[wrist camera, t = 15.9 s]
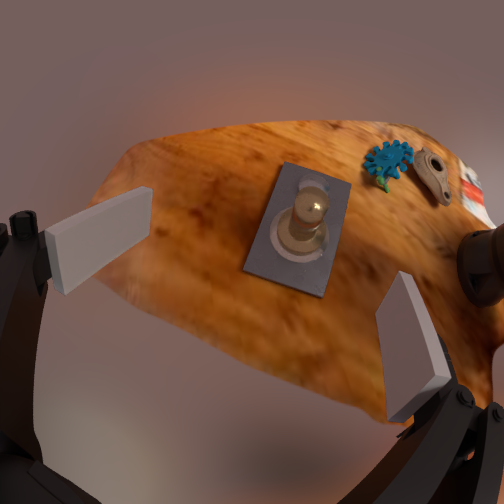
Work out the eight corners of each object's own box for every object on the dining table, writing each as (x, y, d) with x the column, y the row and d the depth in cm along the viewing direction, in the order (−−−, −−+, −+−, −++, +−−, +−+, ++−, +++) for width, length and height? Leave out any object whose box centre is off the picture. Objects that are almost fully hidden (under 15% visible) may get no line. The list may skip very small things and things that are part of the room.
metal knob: (327, 221, 41) (346, 187, 31) (316, 262, 39) (334, 237, 29) (284, 206, 41) (292, 168, 32) (270, 246, 39) (274, 216, 30)
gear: (375, 137, 46) (418, 137, 38) (386, 159, 49) (427, 162, 41) (351, 174, 45) (399, 179, 37) (364, 196, 48) (409, 204, 40)
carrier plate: (349, 187, 44) (353, 180, 42) (321, 298, 38) (325, 295, 36) (284, 165, 46) (285, 157, 43) (243, 271, 40) (242, 267, 37)
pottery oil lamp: (426, 213, 42) (430, 184, 37) (405, 174, 50) (404, 147, 44) (462, 205, 39) (468, 177, 34) (438, 168, 47) (439, 141, 42)
